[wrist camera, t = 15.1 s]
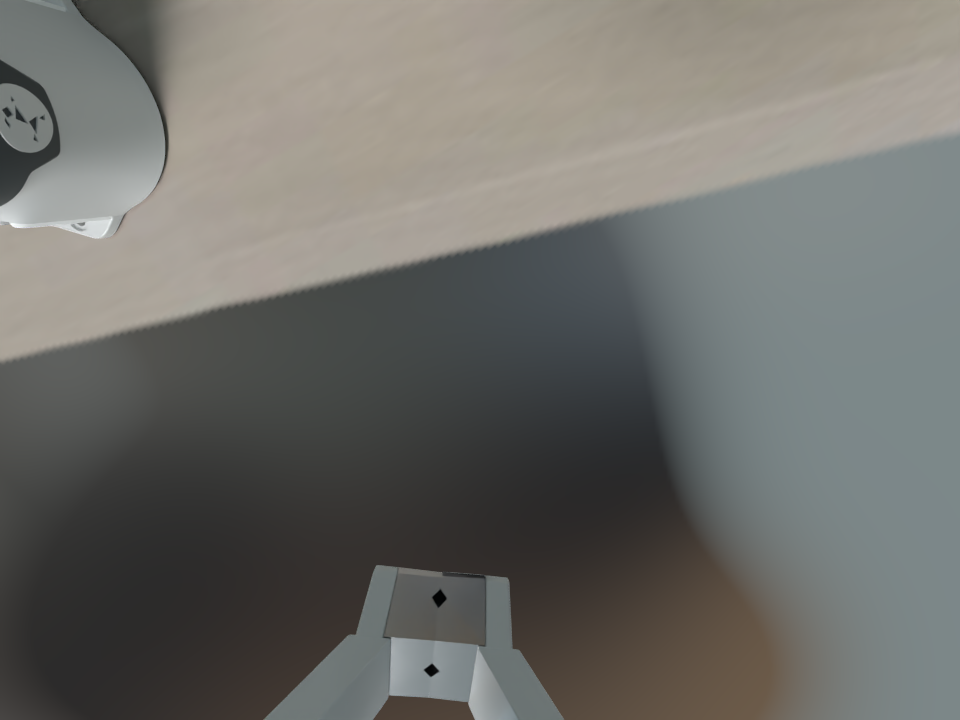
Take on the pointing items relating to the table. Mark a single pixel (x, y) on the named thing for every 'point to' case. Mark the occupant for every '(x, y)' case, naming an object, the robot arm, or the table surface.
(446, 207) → the table surface
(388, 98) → the table surface
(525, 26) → the table surface
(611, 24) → the table surface
